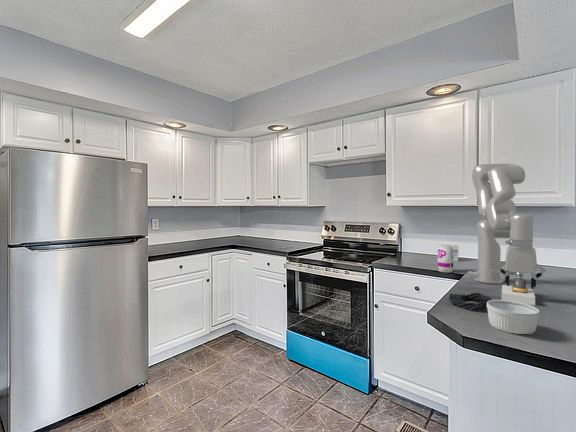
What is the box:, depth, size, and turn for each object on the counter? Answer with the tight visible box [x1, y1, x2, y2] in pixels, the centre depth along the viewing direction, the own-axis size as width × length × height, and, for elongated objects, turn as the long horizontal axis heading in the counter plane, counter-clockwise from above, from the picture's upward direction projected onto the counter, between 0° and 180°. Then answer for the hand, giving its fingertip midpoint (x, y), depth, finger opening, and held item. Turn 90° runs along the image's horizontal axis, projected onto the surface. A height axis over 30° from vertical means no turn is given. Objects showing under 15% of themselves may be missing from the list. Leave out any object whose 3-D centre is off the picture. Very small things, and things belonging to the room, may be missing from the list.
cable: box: [448, 292, 493, 312], centre depth 117 cm, size 17×14×4 cm
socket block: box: [501, 275, 536, 306], centre depth 126 cm, size 10×16×8 cm, turn 144°
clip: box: [488, 268, 525, 277], centre depth 134 cm, size 3×12×2 cm, turn 46°
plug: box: [511, 277, 529, 293], centre depth 126 cm, size 5×5×8 cm
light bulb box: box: [446, 244, 459, 262], centre depth 218 cm, size 11×7×11 cm, turn 67°
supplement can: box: [437, 244, 454, 274], centre depth 180 cm, size 8×8×15 cm
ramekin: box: [487, 299, 540, 335], centre depth 94 cm, size 13×13×7 cm
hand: (519, 286), depth 126 cm, fingers open, 7 cm apart
